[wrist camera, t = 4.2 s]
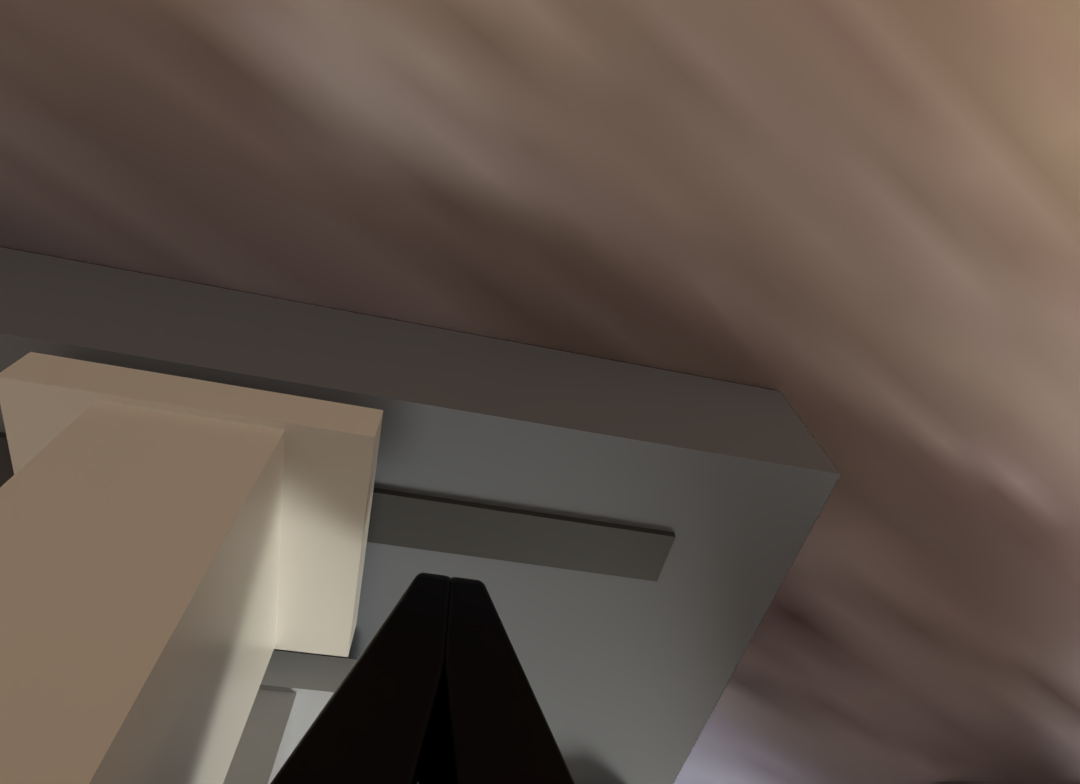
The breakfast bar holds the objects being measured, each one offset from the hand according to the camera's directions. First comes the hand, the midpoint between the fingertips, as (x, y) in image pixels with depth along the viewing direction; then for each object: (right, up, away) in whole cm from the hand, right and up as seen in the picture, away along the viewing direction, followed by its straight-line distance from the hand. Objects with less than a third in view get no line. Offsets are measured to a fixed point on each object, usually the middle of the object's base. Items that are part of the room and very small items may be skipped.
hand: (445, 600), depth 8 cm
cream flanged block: (-3, +1, +1) cm, 3 cm away
